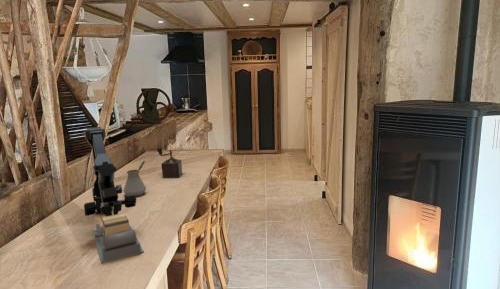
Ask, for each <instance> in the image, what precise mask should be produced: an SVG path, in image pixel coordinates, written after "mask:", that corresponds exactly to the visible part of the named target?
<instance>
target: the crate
mask: <svg viewBox="0 0 500 289" xmlns="http://www.w3.org/2000/svg"><path fill="white" fill-rule="evenodd" d="M101 220H102V221H101V222H102V226H103V228H104V230H103V231H104V236H109V235H113V234H118V233H122V232H127V231H129V224H130V222H129V221H130V220H129V217H128V216H127V214H126V213H125V212H121V213H118V214H115V215H113V214H112V215H111V216H106V215H105V216H102V218H101ZM103 228H102V229H103Z"/></svg>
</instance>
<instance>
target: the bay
mask: <svg viewBox="0 0 500 289" xmlns="http://www.w3.org/2000/svg"><path fill="white" fill-rule="evenodd" d="M95 227H96V229H94V230H93V231H92V232H93V236H94V241H95V244H96V245H95V246H96V248H97V251H98V256H99V260H100V263H101V264H104V263H108V262H109V263H110V262H113V261H117V260H120V259H124V258H129V257H132V256H136V255H140V254H143V253H144V249H143V247H142V245H141V242H140V241H139V240H138V237H137V234H136V231H135V229H133V228H132V226H131V224H130V223H129V231H127V232H122V233H118V234H113V235H109V236H104V231H103V230H104V228H101V226H100V223H97V224H95Z"/></svg>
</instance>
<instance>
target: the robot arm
mask: <svg viewBox="0 0 500 289" xmlns="http://www.w3.org/2000/svg"><path fill="white" fill-rule="evenodd" d="M84 138H85V140H86V142H87V143H88V144H89V146H90V147H91V152H92V159H93V166H92V169H93V170H92V171H93V175H94V176H95V180H94V182H93V184H92V186H93V187H92V188H91V189H92V190H91V192H92V194H91V195H92V199H93V201H90V202H85V203H84V204H83V209H84V210H83V211H84V216H85V217H88V216H92V215H93V216H94V215H95V214H101V215H104V216H105V217H106V216H111V215H115V214H119V212H120V211H122V207H123V206H122V205H124V207H125V208H133V207H135V206H136V205H137V196H135V195H134V194H133V195H124V198H123V199H119V194H122V193H123V188H122V184H116V185H115V180H114V179H115V172H116V171H117V167H116V165H114V163H112V160H111V158H110V157H109V156H108V155H107V152H106V149H105V143H104V141H105V138H106V129H105V128H102V127H101V126H95V127H86V130H84ZM112 211H113V213H112Z"/></svg>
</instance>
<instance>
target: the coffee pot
mask: <svg viewBox="0 0 500 289" xmlns="http://www.w3.org/2000/svg"><path fill="white" fill-rule="evenodd" d="M147 163H148V162H147V161H146V160H143V161H142V162H141V164H140V165H139V167H138V168H137V169H130V170H128V171H126V174H127V178H126V182H125V184H124V187H123V189H122V192H123V193H124V194H125V196H128V195H133V194H134V195H135V196H136V197H140V196H142V195H143V194H144V193H145V191H146V190H147V187H146V186H145V184H144V182H143V180H142V178H141V176H140V175H139V173H140V170H141V169H142V168H143V166H144V165H145V164H147Z"/></svg>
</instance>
